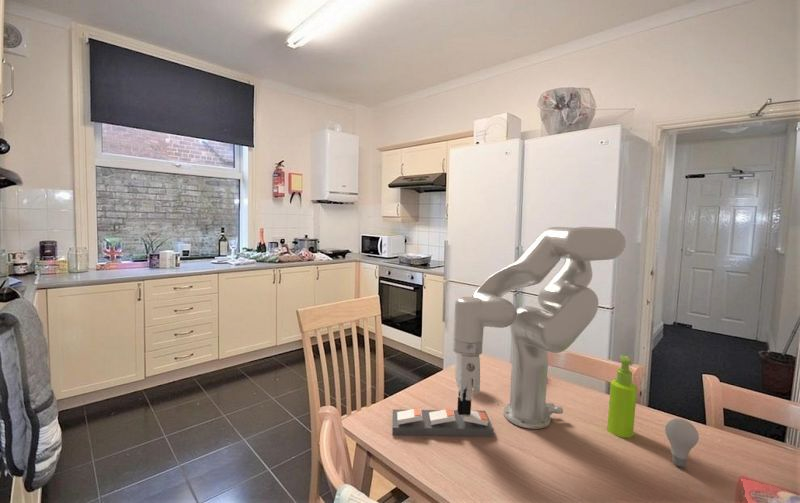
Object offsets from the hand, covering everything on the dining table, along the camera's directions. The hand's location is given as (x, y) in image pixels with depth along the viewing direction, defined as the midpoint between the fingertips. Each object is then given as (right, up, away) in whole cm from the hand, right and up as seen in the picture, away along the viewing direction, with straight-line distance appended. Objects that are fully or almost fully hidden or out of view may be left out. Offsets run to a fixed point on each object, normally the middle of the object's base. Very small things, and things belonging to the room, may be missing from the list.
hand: (463, 413), depth 96 cm
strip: (-6, -4, +2) cm, 8 cm away
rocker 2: (+3, -1, 0) cm, 3 cm away
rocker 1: (-14, -1, 0) cm, 14 cm away
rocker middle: (-6, -1, 0) cm, 6 cm away
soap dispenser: (+42, -6, +2) cm, 43 cm away
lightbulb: (+47, -7, -12) cm, 49 cm away
